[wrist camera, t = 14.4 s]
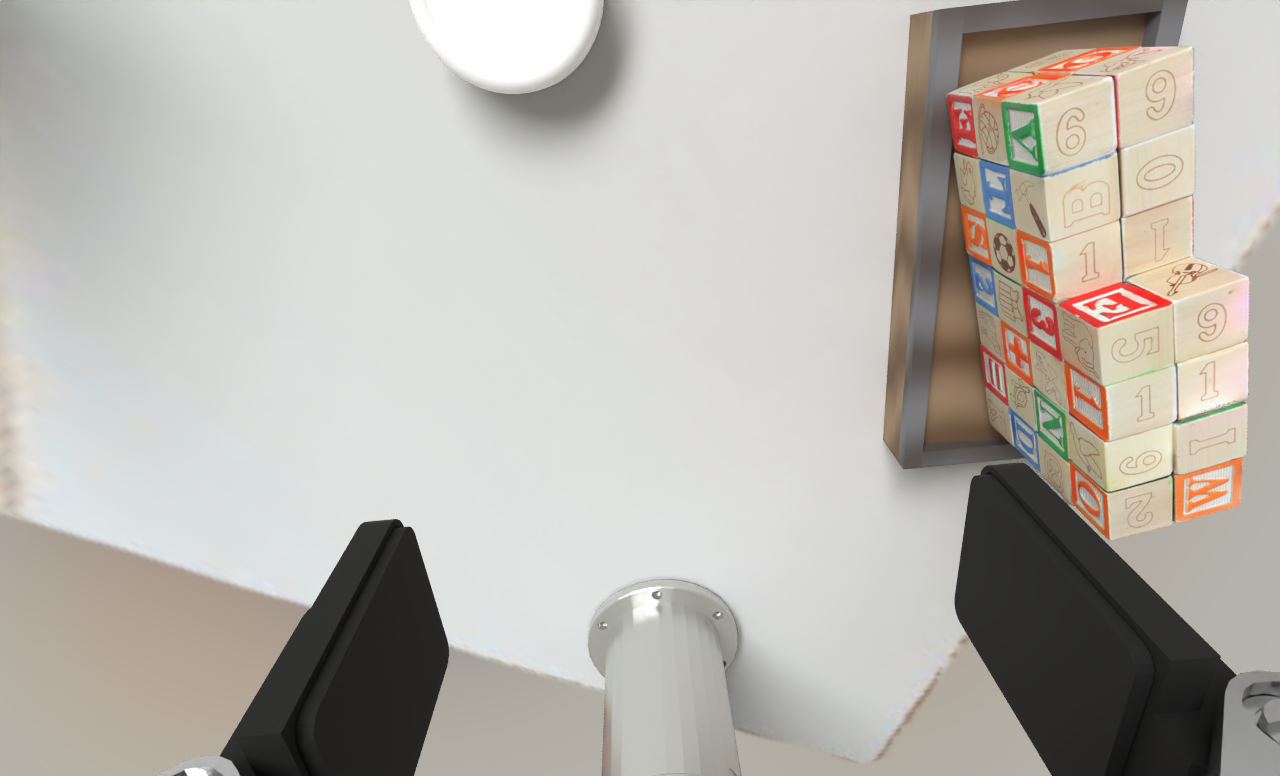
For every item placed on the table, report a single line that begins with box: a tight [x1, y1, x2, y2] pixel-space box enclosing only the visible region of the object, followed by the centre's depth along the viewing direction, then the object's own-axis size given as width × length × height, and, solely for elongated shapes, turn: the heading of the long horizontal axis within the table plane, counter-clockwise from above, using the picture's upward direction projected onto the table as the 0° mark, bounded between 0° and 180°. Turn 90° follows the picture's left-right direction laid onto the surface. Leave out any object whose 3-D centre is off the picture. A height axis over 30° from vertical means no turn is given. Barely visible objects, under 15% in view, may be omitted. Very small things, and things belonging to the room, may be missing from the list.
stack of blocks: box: [946, 46, 1249, 540], centre depth 34 cm, size 21×6×12 cm, turn 20°
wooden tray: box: [883, 0, 1188, 469], centre depth 41 cm, size 27×12×4 cm, turn 6°
